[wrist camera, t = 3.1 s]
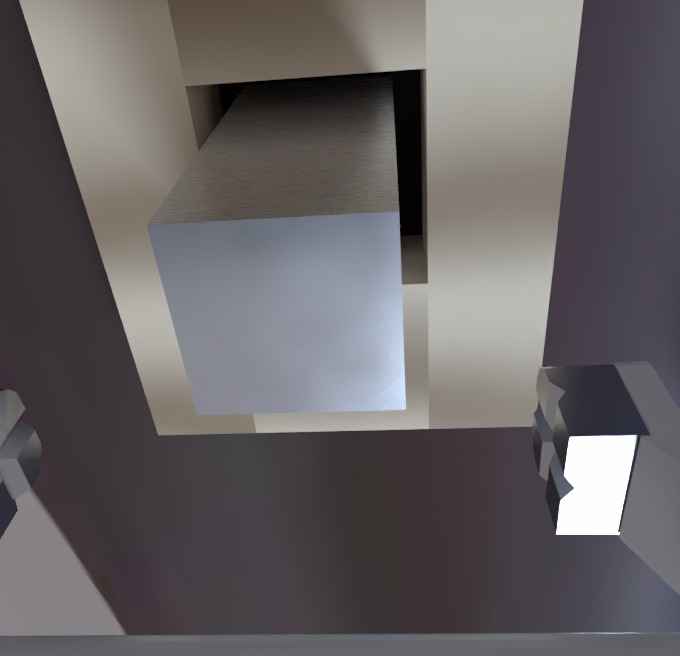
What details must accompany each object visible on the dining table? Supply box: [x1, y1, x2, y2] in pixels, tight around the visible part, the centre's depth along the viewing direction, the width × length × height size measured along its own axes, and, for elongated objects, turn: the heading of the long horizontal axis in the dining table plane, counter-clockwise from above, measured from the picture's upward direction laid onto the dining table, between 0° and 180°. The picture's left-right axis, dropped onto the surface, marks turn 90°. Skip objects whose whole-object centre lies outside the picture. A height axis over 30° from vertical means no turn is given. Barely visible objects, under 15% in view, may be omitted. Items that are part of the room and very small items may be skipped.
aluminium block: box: [146, 75, 406, 415], centre depth 15 cm, size 4×4×9 cm
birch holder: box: [19, 0, 583, 435], centre depth 17 cm, size 16×12×3 cm
